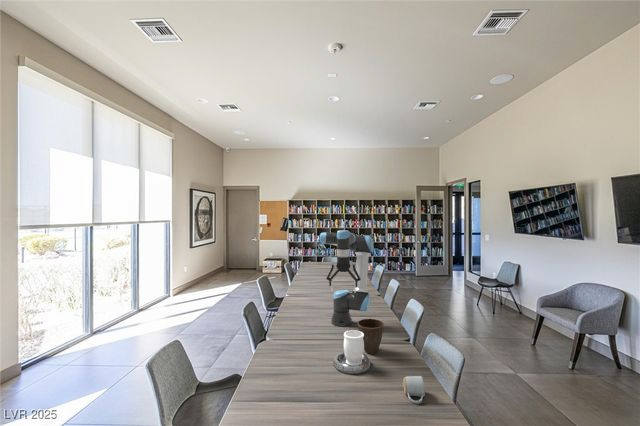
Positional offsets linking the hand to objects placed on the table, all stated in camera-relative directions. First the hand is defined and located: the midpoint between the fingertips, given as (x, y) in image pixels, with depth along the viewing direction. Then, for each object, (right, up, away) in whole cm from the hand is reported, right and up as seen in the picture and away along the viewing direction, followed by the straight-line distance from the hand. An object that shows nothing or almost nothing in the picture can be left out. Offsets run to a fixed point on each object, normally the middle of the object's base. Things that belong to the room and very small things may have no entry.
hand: (343, 292), depth 174 cm
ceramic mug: (+27, -33, -48) cm, 64 cm away
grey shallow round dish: (+3, -33, -21) cm, 39 cm away
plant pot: (+15, -33, -5) cm, 37 cm away
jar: (+4, -32, -21) cm, 38 cm away
